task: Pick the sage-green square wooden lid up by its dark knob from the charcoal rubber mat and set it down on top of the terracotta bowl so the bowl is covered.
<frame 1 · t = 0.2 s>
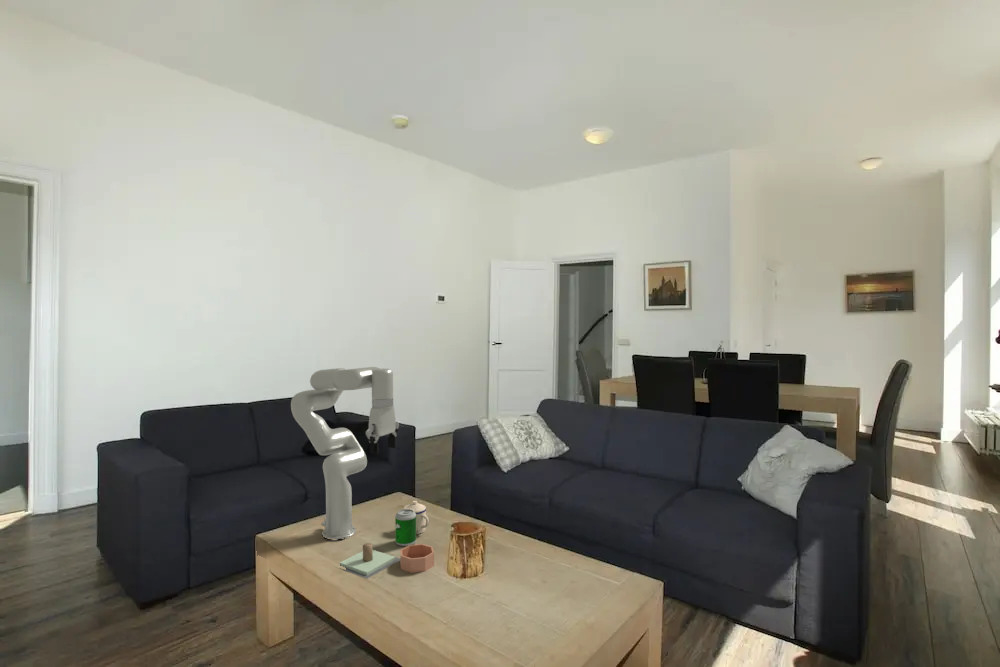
hand: (383, 450, 189), 36 cm above the table, tool pointing down, fingers open, 9 cm apart
mat: (367, 564, 178), on the table
lid: (367, 562, 178), point 1 cm above the table, touching mat
soda can: (405, 544, 194), on the table
bowl: (417, 565, 177), on the table
teacup with lid: (417, 532, 206), on the table
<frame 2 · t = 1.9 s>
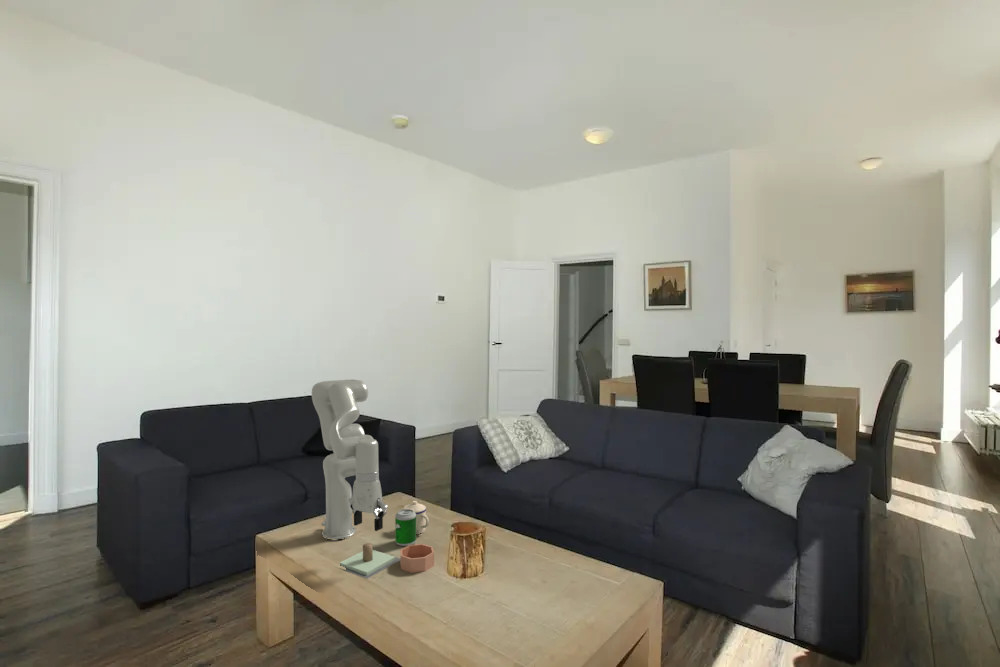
hand: (368, 526, 177), 13 cm above the table, tool pointing down, fingers open, 9 cm apart
nothing on the table moved.
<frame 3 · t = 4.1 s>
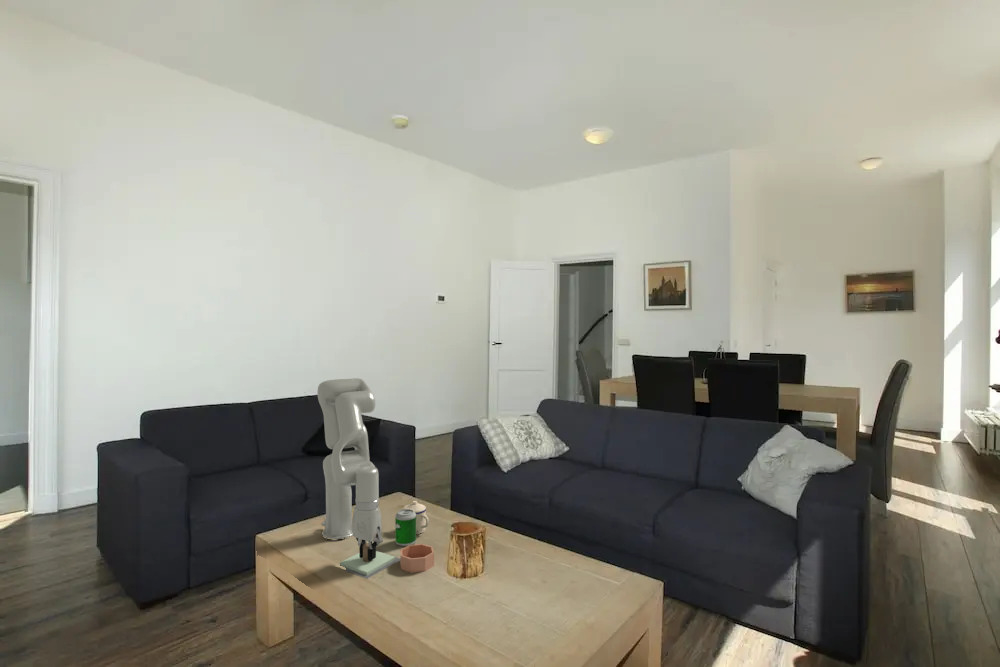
hand: (367, 557, 178), 2 cm above the table, tool pointing down, fingers closed on lid, 3 cm apart
lid: (367, 562, 178), point 1 cm above the table, touching gripper, mat
everything else where it was.
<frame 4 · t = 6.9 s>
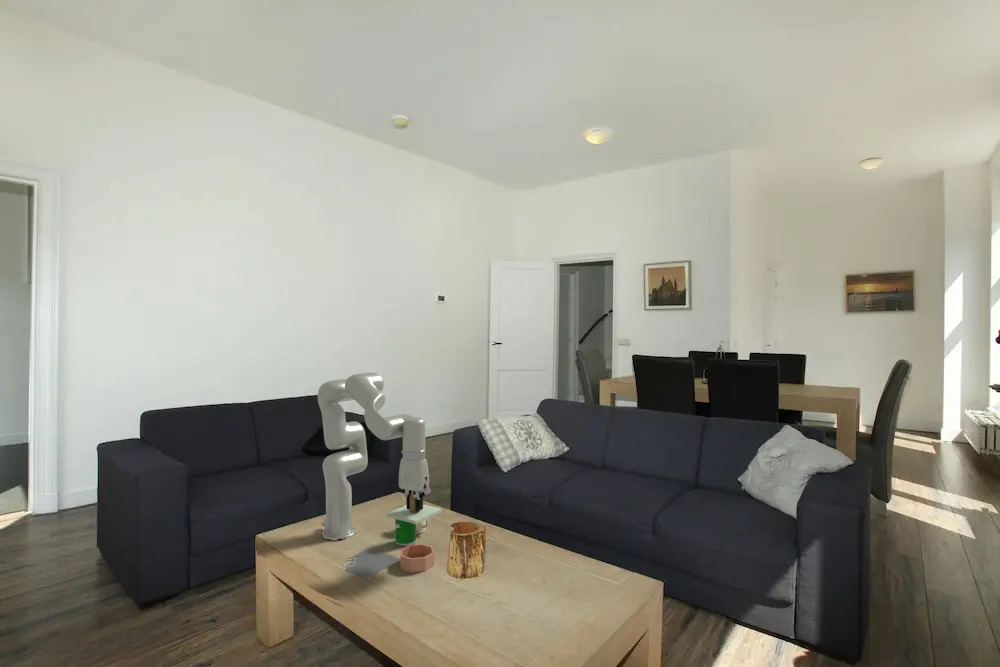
hand: (414, 508, 176), 20 cm above the table, tool pointing down, fingers closed on lid, 3 cm apart
lid: (414, 514, 176), point 18 cm above the table, touching gripper
everything else where it was.
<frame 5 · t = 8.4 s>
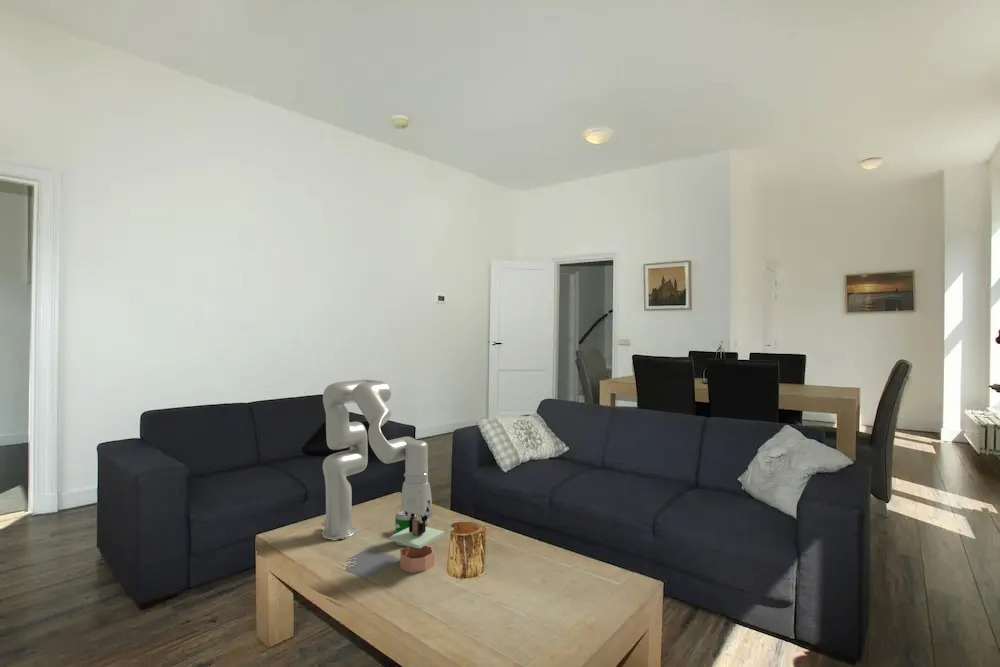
hand: (417, 531, 176), 12 cm above the table, tool pointing down, fingers closed on lid, 3 cm apart
lid: (417, 537, 176), point 10 cm above the table, touching gripper
everything else where it was.
when the fingers open (8 cm above the table, at t = 9.7 s): lid drops 1 cm, resting on bowl.
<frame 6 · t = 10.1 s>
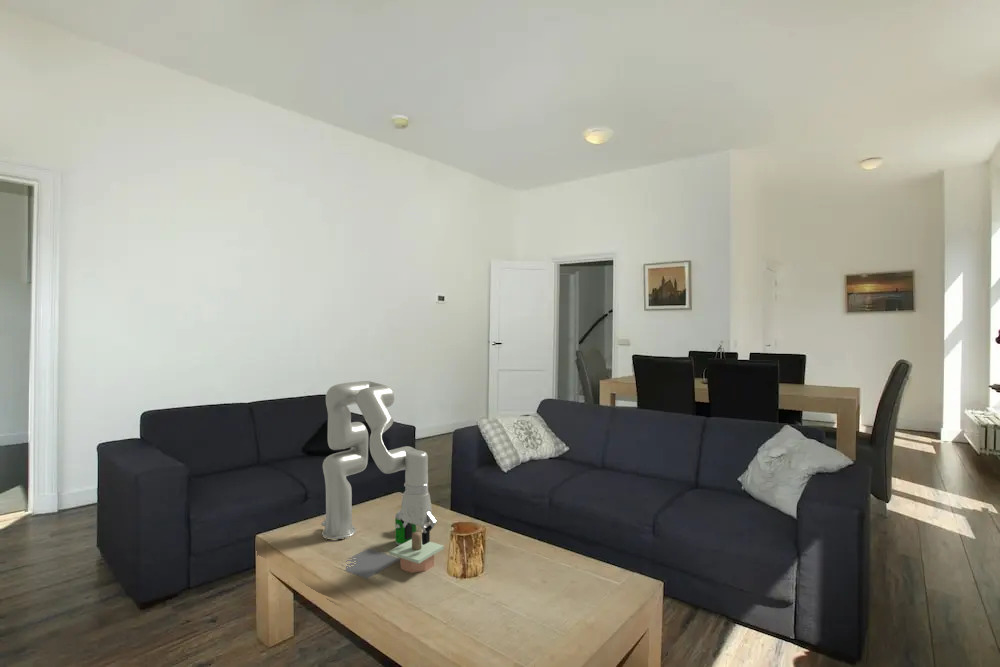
hand: (417, 540, 177), 9 cm above the table, tool pointing down, fingers open, 7 cm apart
lid: (416, 551, 177), point 5 cm above the table, touching bowl
everything else where it was.
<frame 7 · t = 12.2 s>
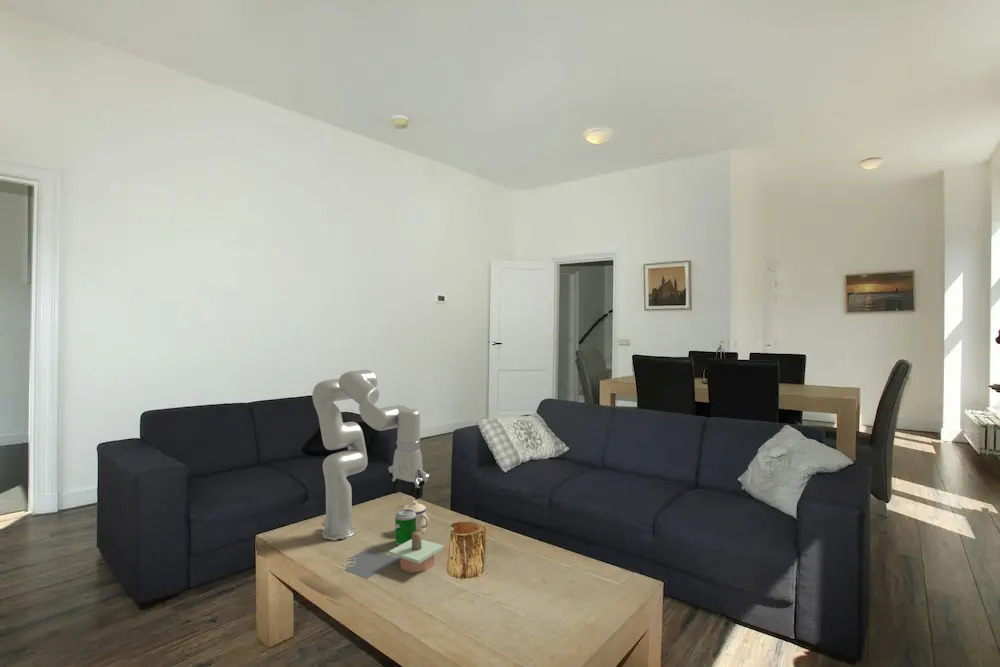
hand: (407, 495, 179), 23 cm above the table, tool pointing down, fingers open, 9 cm apart
nothing on the table moved.
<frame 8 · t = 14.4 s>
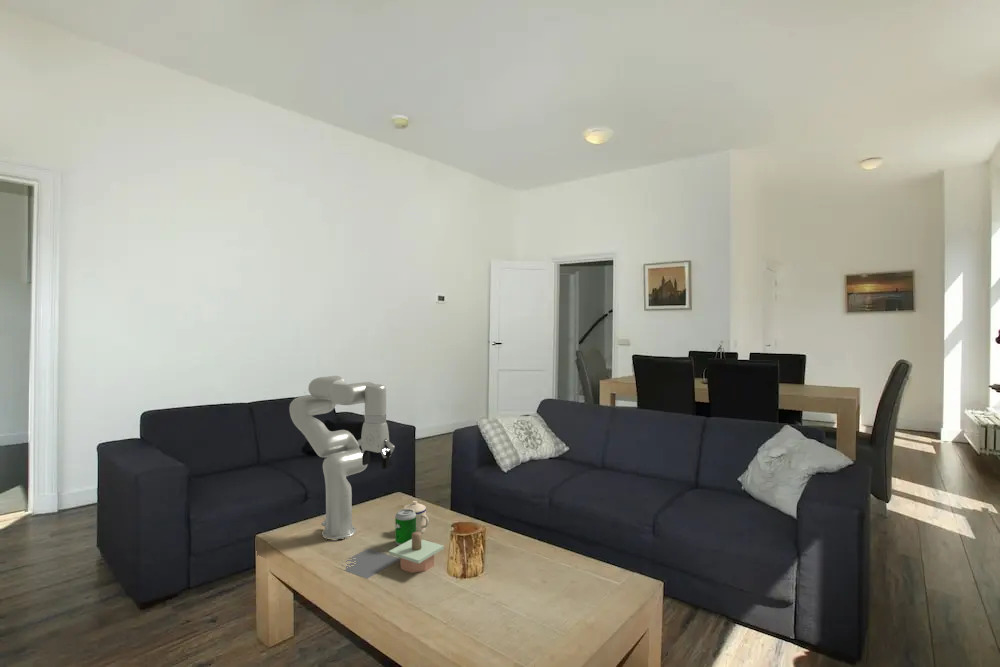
hand: (375, 466, 189), 30 cm above the table, tool pointing down, fingers open, 9 cm apart
nothing on the table moved.
at the end: lid 0.1 cm off-centre on the bowl, point 5.0 cm above the bowl's base; lid tilted 0°; the gripper is holding nothing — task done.
